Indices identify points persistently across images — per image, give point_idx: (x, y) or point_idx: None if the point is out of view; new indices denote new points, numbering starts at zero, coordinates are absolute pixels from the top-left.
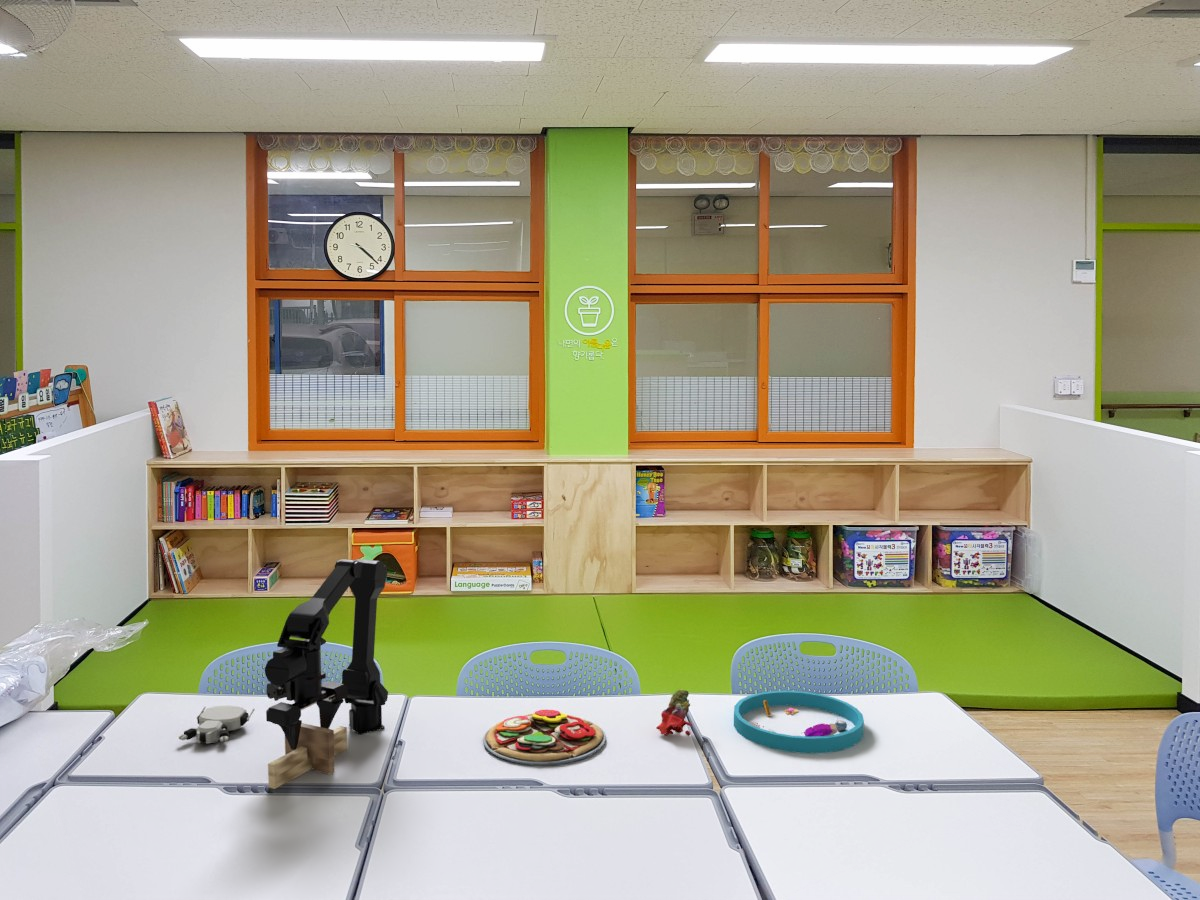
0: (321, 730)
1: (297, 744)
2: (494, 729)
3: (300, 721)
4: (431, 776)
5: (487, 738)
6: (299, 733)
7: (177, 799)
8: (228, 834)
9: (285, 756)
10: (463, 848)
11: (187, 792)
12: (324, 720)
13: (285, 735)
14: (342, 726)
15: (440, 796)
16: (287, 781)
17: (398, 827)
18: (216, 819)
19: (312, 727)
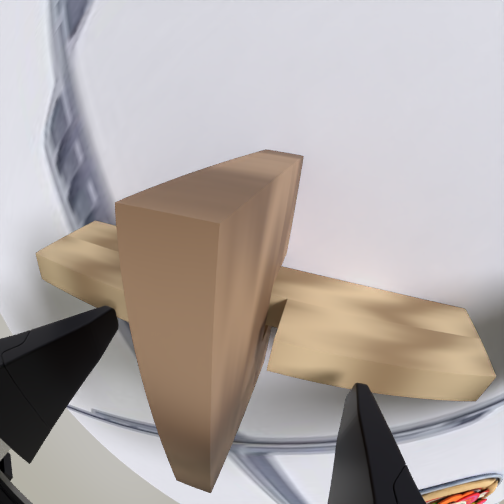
0: (177, 469)
1: (104, 351)
2: (455, 493)
3: (23, 457)
4: (298, 478)
5: (427, 497)
6: (64, 407)
7: (16, 67)
8: (7, 257)
9: (86, 288)
10: (154, 470)
11: (33, 51)
12: (347, 471)
13: (31, 332)
14: (489, 383)
15: (237, 480)
16: None
17: (144, 444)
18: (7, 207)
19: (181, 449)
